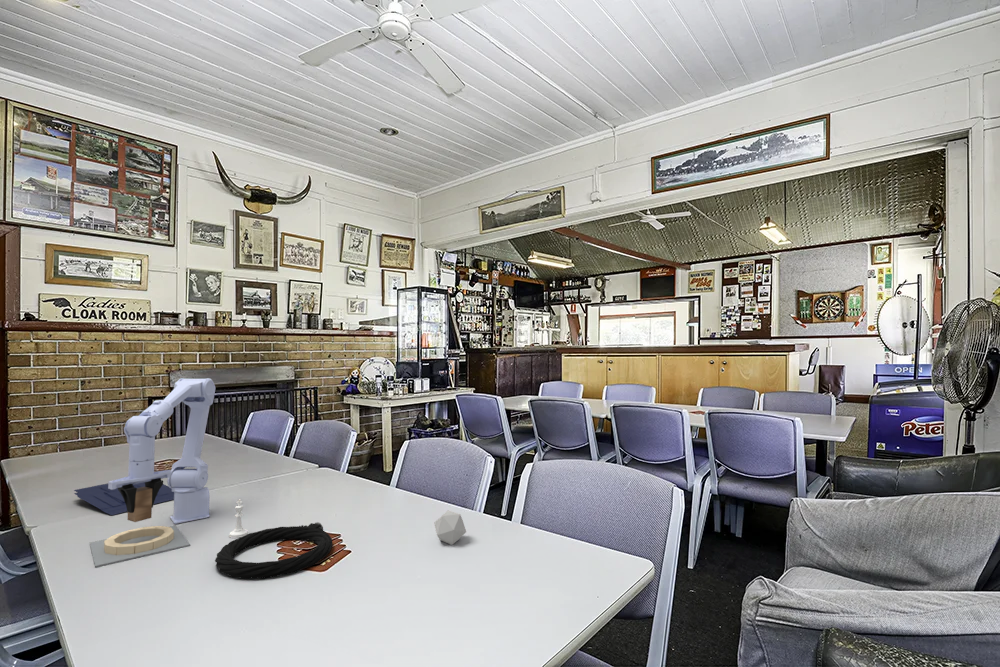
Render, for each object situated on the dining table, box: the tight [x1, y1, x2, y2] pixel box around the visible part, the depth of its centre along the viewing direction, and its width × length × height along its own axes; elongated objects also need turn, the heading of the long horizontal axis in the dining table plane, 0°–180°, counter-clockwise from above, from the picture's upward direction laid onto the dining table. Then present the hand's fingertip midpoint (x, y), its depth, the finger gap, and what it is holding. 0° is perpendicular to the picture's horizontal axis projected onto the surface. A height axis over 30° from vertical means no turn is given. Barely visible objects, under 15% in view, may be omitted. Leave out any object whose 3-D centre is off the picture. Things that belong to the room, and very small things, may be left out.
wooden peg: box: [127, 487, 153, 523], centre depth 135 cm, size 4×4×8 cm
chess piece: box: [228, 498, 249, 539], centre depth 142 cm, size 5×5×10 cm
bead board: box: [89, 524, 191, 568], centre depth 134 cm, size 20×20×2 cm
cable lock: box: [214, 521, 333, 580], centre depth 128 cm, size 28×4×30 cm
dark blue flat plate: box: [73, 482, 174, 516], centre depth 175 cm, size 24×30×4 cm
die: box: [434, 510, 467, 546], centre depth 138 cm, size 8×9×10 cm
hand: (140, 509), depth 135 cm, fingers closed on wooden peg, 4 cm apart
